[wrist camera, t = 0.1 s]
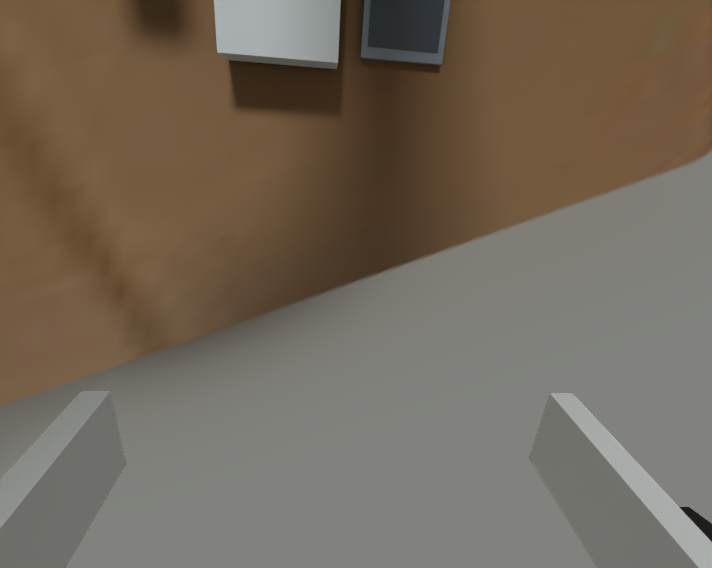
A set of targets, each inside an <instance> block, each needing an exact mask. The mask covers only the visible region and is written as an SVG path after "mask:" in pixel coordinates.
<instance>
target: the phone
mask: <svg viewBox="0 0 712 568" xmlns="http://www.w3.org/2000/svg"><path fill="white" fill-rule="evenodd" d="M449 8H450V0H364V5H363V22H362V38H361V55H360V58H362V59H373V60H384V61H395V62H406V63H417V64H428V65H439V66H440V65H442V60H443V52H444V45H445V38H446V30H447V23H448V15H449Z"/></svg>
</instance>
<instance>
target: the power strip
mask: <svg viewBox="0 0 712 568" xmlns="http://www.w3.org/2000/svg"><path fill="white" fill-rule="evenodd" d="M340 4H341V0H214V9H215V25H216V40H217V53H219V54H220V55H222V56H223V57H225V58H226V59H227V60H233V61H245V62H256V63H268V64H280V65H291V66H303V67H315V68H327V69H337V65H338V53H339V28H340Z"/></svg>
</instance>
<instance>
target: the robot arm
mask: <svg viewBox="0 0 712 568" xmlns="http://www.w3.org/2000/svg"><path fill="white" fill-rule="evenodd" d="M529 460H530V461H531V463H532V464H533V466H534V468H535V469H536V471H537V472H538V474H539V476H540V477H541V479H542V481H543V482H544V484H545V485H546V487H547V489H548V490H549V492H550V493H551V495H552V497H553V498H554V500H555V502H556V503H557V505H558V506H559V508H560V510H561V511H562V513H563V514H564V516H565V518H566V519H567V521H568V522H569V524H570V526H571V527H572V529H573V530H574V532H575V534H576V535H577V537H578V538H579V540H580V541H581V543H582V545H583V547H584V548H585V550H586V551H587V553H588V555H589V556H590V558H591V559H592V561H593V563H594V564H595V566H596V567H597V568H712V524H711V523H710V522H709V521H707V520H706V519H704V518H703V517H702V516H700V515H699V514H698V513H696V512H695V511H693V510H692V509H691V508H689V507H678V505H677V504H676V503H675V502H674V501H673V500H672V499H671V498H670V497H669V496H668V495H667V494H666V493H665V492H664V491H663V489H662V488H661V487H660V486H659V485H658V484H657V483H656V482H655V481H654V480H653V479H652V478H651V477H650V476H649V474H648V473H647V472H646V471H645V470H644V469H643V468H642V467H641V466H640V465H639V464H638V463H637V462H636V461H635V460H634V459H633V457H632V456H631V455H630V454H629V453H628V452H627V451H626V450H625V449H624V448H623V447H622V446H621V445H620V444H619V442H618V441H617V440H616V439H615V438H614V437H613V436H612V435H611V434H610V433H609V432H608V431H607V430H606V429H605V428H604V427H603V425H602V424H601V423H600V422H599V421H598V420H597V419H596V418H595V417H594V416H593V415H592V414H591V413H590V412H589V410H588V409H587V408H586V407H585V406H584V405H583V404H582V403H581V402H580V401H579V400H578V399H577V398H576V397H575V395H573V393H550V394H549V397H548V400H547V404H546V407H545V410H544V413H543V416H542V419H541V422H540V425H539V428H538V431H537V434H536V437H535V440H534V443H533V446H532V450H531V453H530V455H529ZM125 465H126V460H125V456H124V451H123V447H122V442H121V438H120V433H119V428H118V424H117V419H116V415H115V410H114V405H113V401H112V396H111V392H110V391H81V392H80V393H79V394H78V395H77V396H76V398H75V399H74V400H73V401H72V402H71V403H70V404H69V405H68V406H67V407H66V408H65V410H64V411H63V412H62V413H61V414H60V415H59V416H58V417H57V418H56V419H55V420H54V422H53V423H52V424H51V425H50V426H49V427H48V428H47V429H46V430H45V431H44V433H43V434H42V435H41V436H40V437H39V438H38V439H37V440H36V441H35V442H34V443H33V445H32V446H31V447H30V448H29V449H28V450H27V451H26V452H25V453H24V454H23V455H22V457H21V458H20V459H19V460H18V461H17V462H16V463H15V464H14V465H13V467H12V468H11V469H10V470H9V471H8V472H7V473H6V474H5V475H4V476H3V477H2V478H1V480H0V568H66V566H67V564H68V563H69V561H70V559H71V558H72V556H73V554H74V552H75V551H76V549H77V547H78V546H79V544H80V542H81V541H82V539H83V537H84V535H85V534H86V532H87V530H88V529H89V527H90V525H91V523H92V522H93V520H94V518H95V516H96V515H97V513H98V511H99V510H100V508H101V506H102V505H103V503H104V501H105V499H106V498H107V496H108V494H109V493H110V491H111V489H112V487H113V486H114V484H115V482H116V480H117V479H118V477H119V475H120V474H121V472H122V470H123V469H124V467H125Z"/></svg>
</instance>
